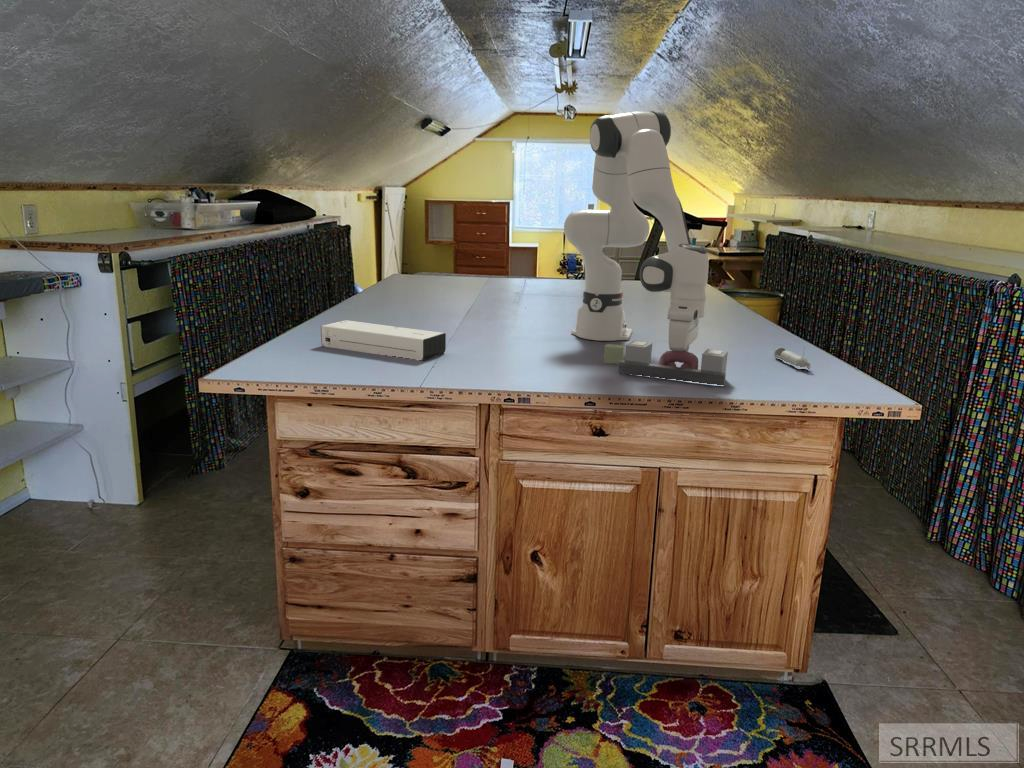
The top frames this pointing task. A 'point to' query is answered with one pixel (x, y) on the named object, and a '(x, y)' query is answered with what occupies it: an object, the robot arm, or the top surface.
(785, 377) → the top surface
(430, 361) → the top surface
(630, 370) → the rail bar
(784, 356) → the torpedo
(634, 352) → the mounted modules
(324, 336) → the laminator
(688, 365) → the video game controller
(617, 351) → the block
